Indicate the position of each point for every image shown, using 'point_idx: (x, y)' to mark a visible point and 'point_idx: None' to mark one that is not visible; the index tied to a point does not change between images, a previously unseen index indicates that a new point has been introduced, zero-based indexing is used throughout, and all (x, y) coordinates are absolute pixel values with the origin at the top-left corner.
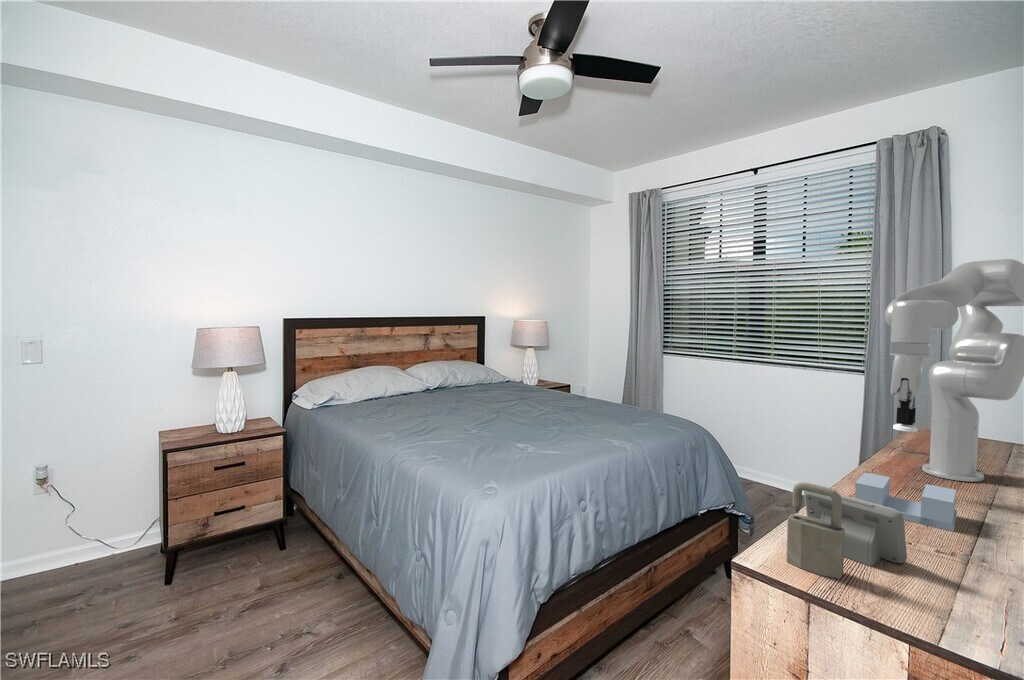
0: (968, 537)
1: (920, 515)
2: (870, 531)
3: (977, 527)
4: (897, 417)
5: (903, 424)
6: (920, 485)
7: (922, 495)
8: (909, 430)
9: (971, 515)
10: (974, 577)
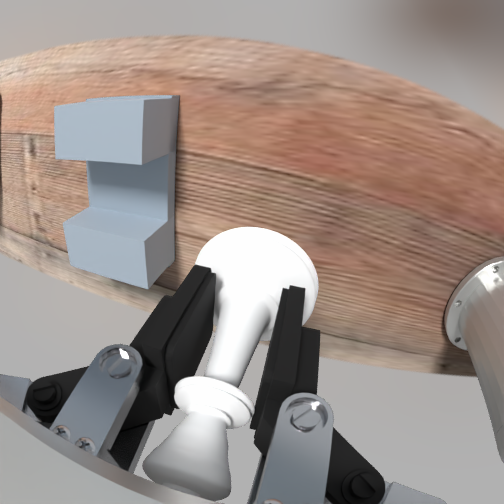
0: None
1: (94, 207)
2: None
3: None
4: (181, 290)
5: (220, 294)
6: (378, 230)
7: (67, 225)
8: None
9: None
10: (17, 239)
